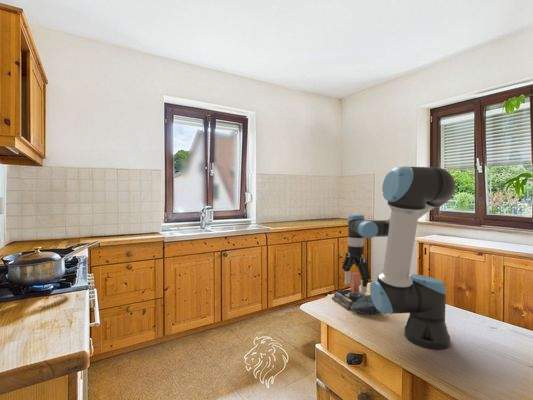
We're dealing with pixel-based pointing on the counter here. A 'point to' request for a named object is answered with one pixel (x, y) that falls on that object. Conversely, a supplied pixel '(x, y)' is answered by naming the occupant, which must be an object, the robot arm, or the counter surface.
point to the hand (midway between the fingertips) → (355, 288)
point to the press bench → (343, 298)
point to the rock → (364, 305)
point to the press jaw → (355, 288)
